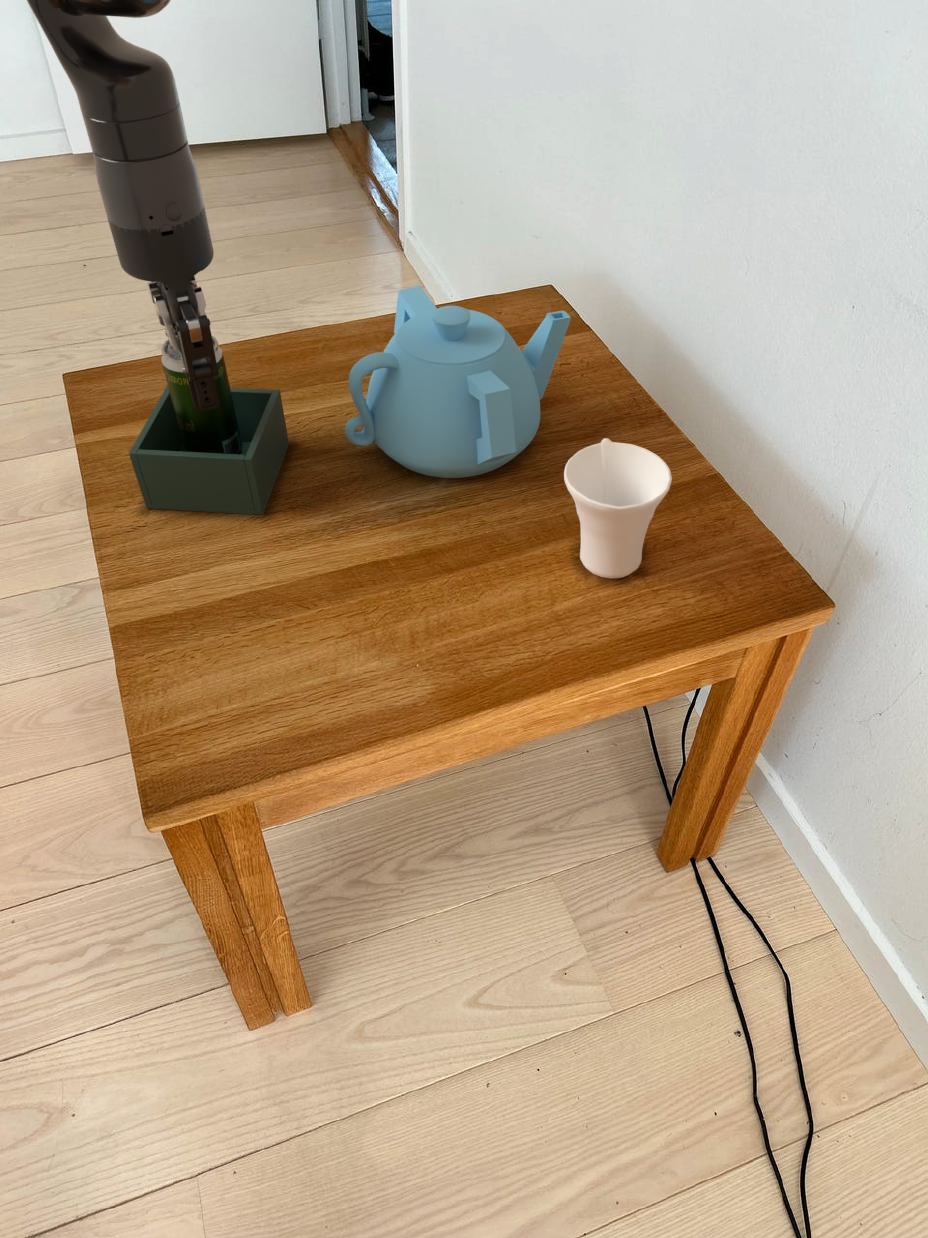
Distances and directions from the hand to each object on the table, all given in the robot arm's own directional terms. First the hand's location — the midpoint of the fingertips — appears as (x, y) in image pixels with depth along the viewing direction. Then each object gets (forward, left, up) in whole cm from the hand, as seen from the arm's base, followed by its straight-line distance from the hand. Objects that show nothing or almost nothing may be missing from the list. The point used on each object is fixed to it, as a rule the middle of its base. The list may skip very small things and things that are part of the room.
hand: (199, 390), depth 85 cm
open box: (0, 0, -10) cm, 10 cm away
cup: (+38, -9, -10) cm, 40 cm away
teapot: (+23, +9, -10) cm, 27 cm away
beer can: (0, 0, -8) cm, 8 cm away
